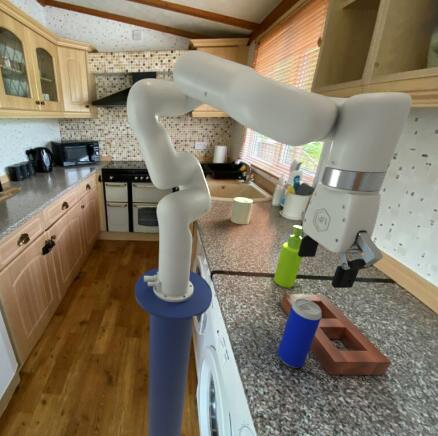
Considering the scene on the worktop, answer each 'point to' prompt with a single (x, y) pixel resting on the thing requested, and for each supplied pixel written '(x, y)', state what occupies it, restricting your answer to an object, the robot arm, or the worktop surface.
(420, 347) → the worktop surface
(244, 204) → the can
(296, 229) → the soap dispenser
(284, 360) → the beverage can
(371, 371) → the holder
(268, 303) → the worktop surface
